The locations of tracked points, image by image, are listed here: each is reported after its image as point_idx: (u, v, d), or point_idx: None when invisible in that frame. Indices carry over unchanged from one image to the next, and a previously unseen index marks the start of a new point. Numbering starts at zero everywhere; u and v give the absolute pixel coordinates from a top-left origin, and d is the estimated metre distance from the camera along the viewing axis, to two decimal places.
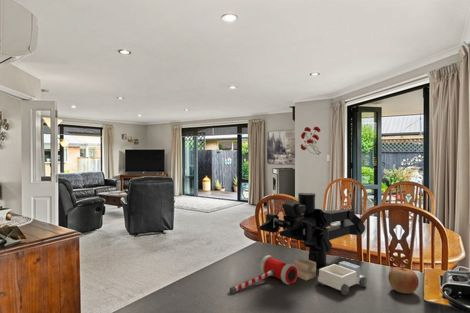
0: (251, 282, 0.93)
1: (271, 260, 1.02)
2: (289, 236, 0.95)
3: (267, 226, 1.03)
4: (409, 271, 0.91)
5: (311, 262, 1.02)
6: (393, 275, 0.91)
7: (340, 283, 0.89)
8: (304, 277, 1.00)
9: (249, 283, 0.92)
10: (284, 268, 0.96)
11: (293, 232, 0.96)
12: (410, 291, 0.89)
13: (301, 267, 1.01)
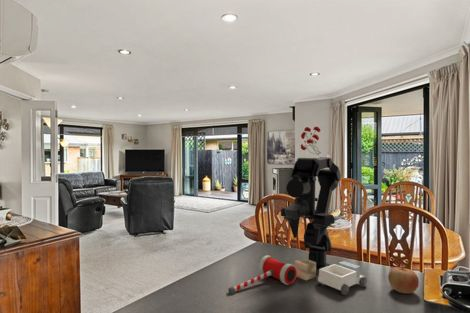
0: (250, 282, 0.93)
1: (270, 260, 1.02)
2: (321, 235, 0.99)
3: (295, 226, 1.06)
4: (409, 271, 0.91)
5: (311, 262, 1.02)
6: (393, 275, 0.91)
7: (340, 283, 0.89)
8: (304, 277, 1.00)
9: (248, 283, 0.92)
10: (283, 268, 0.95)
11: (320, 229, 0.98)
12: (410, 291, 0.89)
13: (301, 267, 1.01)
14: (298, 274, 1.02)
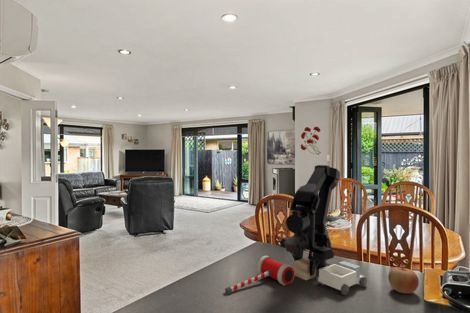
0: (247, 282, 0.92)
1: (268, 261, 1.02)
2: (316, 266, 1.00)
3: None
4: (409, 271, 0.91)
5: None
6: (393, 275, 0.91)
7: (340, 283, 0.89)
8: (304, 277, 1.00)
9: (245, 283, 0.92)
10: (281, 269, 0.95)
11: (315, 261, 1.00)
12: (410, 291, 0.89)
13: (301, 266, 1.01)
14: (298, 274, 1.02)
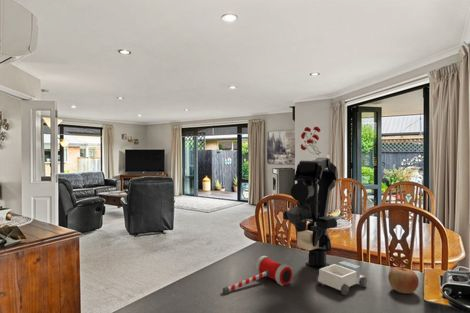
0: (245, 282, 0.92)
1: (266, 261, 1.01)
2: (319, 237, 0.99)
3: None
4: (409, 271, 0.91)
5: None
6: (393, 275, 0.91)
7: (340, 283, 0.89)
8: (307, 247, 0.99)
9: (243, 283, 0.92)
10: (278, 269, 0.95)
11: (318, 232, 0.99)
12: (410, 291, 0.89)
13: (303, 237, 1.00)
14: (301, 245, 1.01)
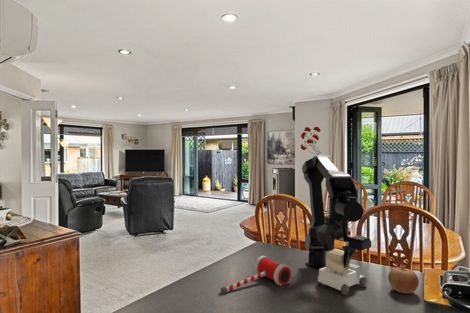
0: (243, 282, 0.92)
1: (265, 261, 1.01)
2: (351, 257, 0.92)
3: None
4: (409, 271, 0.91)
5: None
6: (393, 275, 0.91)
7: (340, 283, 0.89)
8: (337, 268, 0.91)
9: (241, 283, 0.92)
10: (277, 269, 0.95)
11: (349, 252, 0.91)
12: (410, 291, 0.89)
13: (333, 257, 0.93)
14: (330, 265, 0.93)
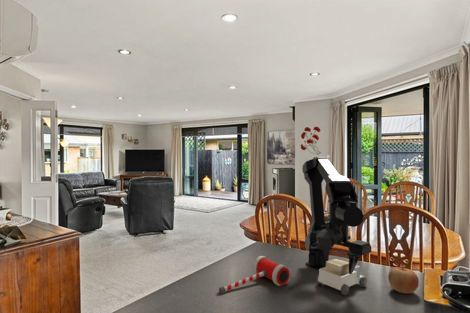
0: (241, 282, 0.92)
1: (264, 261, 1.01)
2: (356, 263, 0.91)
3: (326, 253, 0.98)
4: (409, 271, 0.91)
5: (344, 263, 0.94)
6: (393, 275, 0.91)
7: (340, 283, 0.89)
8: None
9: (239, 283, 0.92)
10: (275, 269, 0.95)
11: (354, 258, 0.90)
12: (410, 291, 0.89)
13: (333, 268, 0.93)
14: None
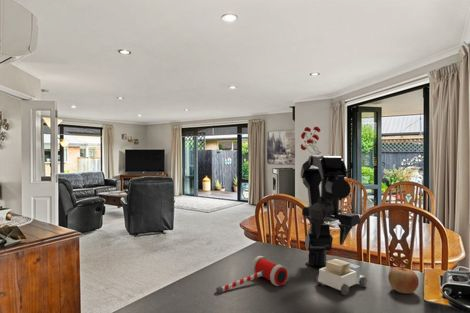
0: (239, 282, 0.92)
1: (262, 261, 1.01)
2: (346, 235, 0.96)
3: (317, 226, 1.03)
4: (409, 271, 0.91)
5: (344, 263, 0.94)
6: (393, 275, 0.91)
7: (340, 283, 0.89)
8: None
9: (237, 283, 0.92)
10: (273, 269, 0.94)
11: (345, 230, 0.95)
12: (410, 291, 0.89)
13: (333, 268, 0.93)
14: None
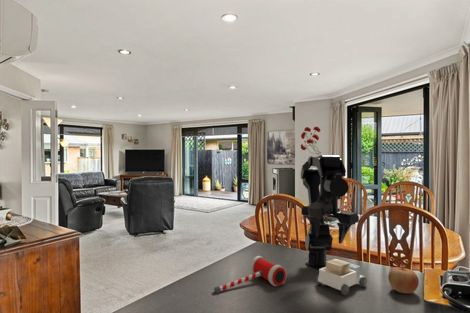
0: (237, 282, 0.92)
1: (261, 261, 1.01)
2: (345, 234, 0.96)
3: (316, 225, 1.04)
4: (409, 271, 0.91)
5: (344, 263, 0.94)
6: (393, 275, 0.91)
7: (340, 283, 0.89)
8: None
9: (235, 283, 0.92)
10: (271, 269, 0.94)
11: (344, 228, 0.96)
12: (410, 291, 0.89)
13: (333, 268, 0.93)
14: None
